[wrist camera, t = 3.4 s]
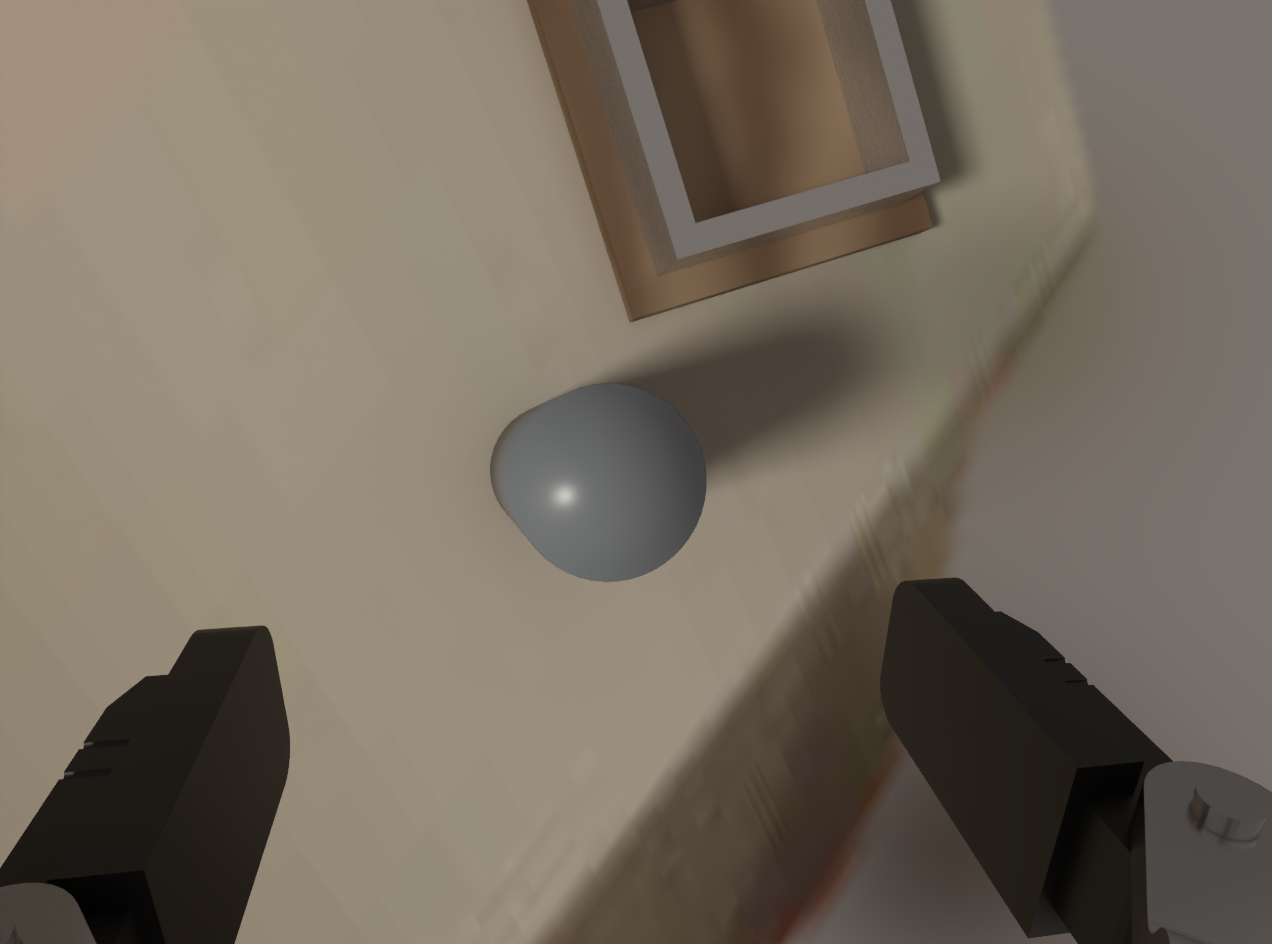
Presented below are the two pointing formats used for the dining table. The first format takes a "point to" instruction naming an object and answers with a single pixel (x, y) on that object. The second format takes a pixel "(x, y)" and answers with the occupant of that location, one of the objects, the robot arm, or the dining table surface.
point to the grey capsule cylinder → (601, 480)
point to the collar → (674, 241)
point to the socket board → (722, 137)
